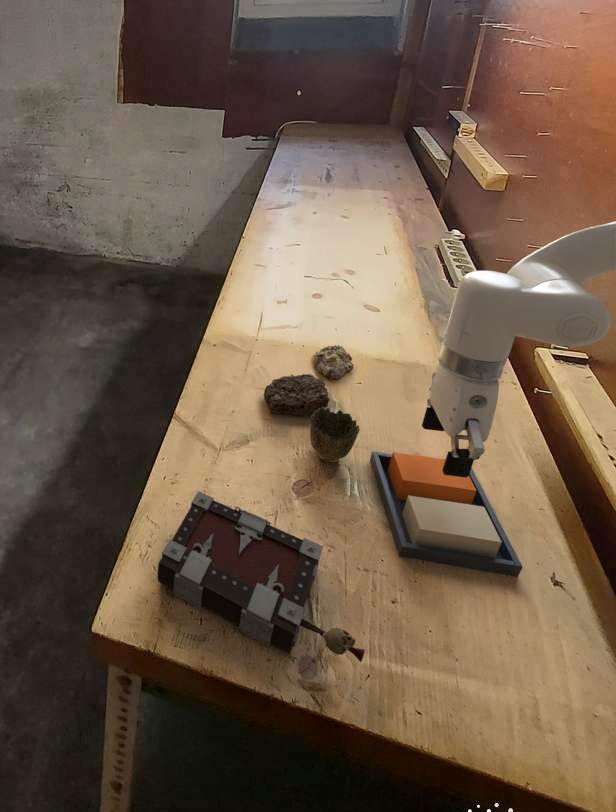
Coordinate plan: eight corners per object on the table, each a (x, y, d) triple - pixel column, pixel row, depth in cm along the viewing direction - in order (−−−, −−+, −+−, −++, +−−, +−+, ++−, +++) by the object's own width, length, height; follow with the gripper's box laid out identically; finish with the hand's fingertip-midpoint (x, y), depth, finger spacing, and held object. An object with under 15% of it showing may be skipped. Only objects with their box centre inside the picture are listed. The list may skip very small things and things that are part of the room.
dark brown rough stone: (323, 392, 112) (328, 371, 110) (327, 425, 103) (332, 403, 101) (263, 382, 115) (266, 362, 113) (262, 414, 107) (266, 393, 104)
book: (196, 511, 87) (198, 488, 85) (373, 593, 75) (381, 568, 72) (154, 587, 76) (155, 562, 74) (353, 697, 64) (361, 671, 62)
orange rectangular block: (455, 479, 90) (462, 461, 89) (469, 509, 85) (476, 490, 84) (387, 470, 93) (392, 451, 91) (397, 498, 88) (402, 479, 86)
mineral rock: (314, 339, 125) (354, 339, 120) (317, 356, 126) (356, 356, 122) (307, 366, 116) (349, 368, 112) (310, 384, 118) (352, 386, 113)
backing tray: (465, 476, 92) (470, 464, 91) (516, 579, 76) (522, 567, 75) (368, 462, 95) (372, 451, 94) (398, 559, 79) (402, 546, 78)
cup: (351, 449, 98) (360, 413, 94) (350, 479, 92) (359, 442, 88) (305, 438, 101) (312, 402, 97) (302, 466, 95) (309, 430, 91)
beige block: (476, 525, 83) (484, 506, 81) (493, 561, 77) (501, 542, 76) (401, 514, 85) (408, 495, 83) (413, 548, 80) (420, 529, 78)
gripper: (532, 400, 69) (495, 499, 77) (478, 327, 84) (451, 416, 92) (464, 393, 71) (434, 491, 79) (422, 323, 86) (400, 411, 94)
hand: (443, 450), depth 85 cm, fingers open, 9 cm apart
